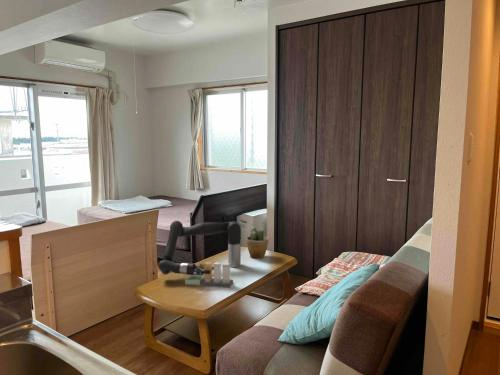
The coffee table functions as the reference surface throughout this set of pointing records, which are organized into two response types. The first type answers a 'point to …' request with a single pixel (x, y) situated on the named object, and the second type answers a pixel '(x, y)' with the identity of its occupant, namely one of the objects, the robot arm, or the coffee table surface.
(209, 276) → the block
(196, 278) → the tray
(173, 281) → the coffee table surface
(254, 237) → the potted plant
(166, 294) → the coffee table surface
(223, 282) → the fuse block
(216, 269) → the block
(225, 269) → the end white fuse
